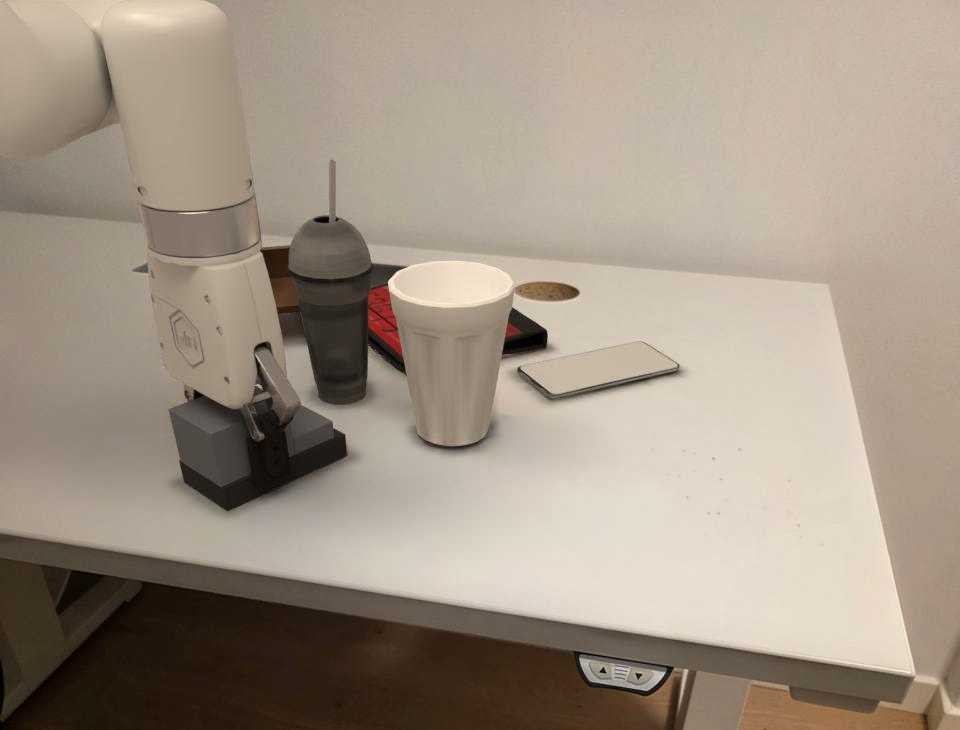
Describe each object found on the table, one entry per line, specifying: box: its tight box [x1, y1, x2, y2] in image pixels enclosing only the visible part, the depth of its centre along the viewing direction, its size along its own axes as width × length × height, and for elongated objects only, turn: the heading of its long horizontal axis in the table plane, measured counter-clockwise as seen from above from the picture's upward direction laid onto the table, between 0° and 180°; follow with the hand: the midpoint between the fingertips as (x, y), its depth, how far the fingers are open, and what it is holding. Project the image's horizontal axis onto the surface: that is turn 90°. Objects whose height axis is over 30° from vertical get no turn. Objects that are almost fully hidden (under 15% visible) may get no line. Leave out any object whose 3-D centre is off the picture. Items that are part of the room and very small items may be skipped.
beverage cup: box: [288, 159, 374, 406], centre depth 78 cm, size 7×7×20 cm
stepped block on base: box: [168, 385, 348, 512], centre depth 72 cm, size 12×6×6 cm, turn 136°
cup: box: [387, 260, 516, 447], centre depth 75 cm, size 10×10×13 cm
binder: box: [368, 282, 549, 372], centre depth 96 cm, size 16×2×21 cm
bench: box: [260, 244, 301, 316], centre depth 93 cm, size 14×9×7 cm, turn 106°
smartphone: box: [516, 340, 681, 399], centre depth 88 cm, size 7×1×15 cm
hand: (244, 460), depth 72 cm, fingers open, 6 cm apart
